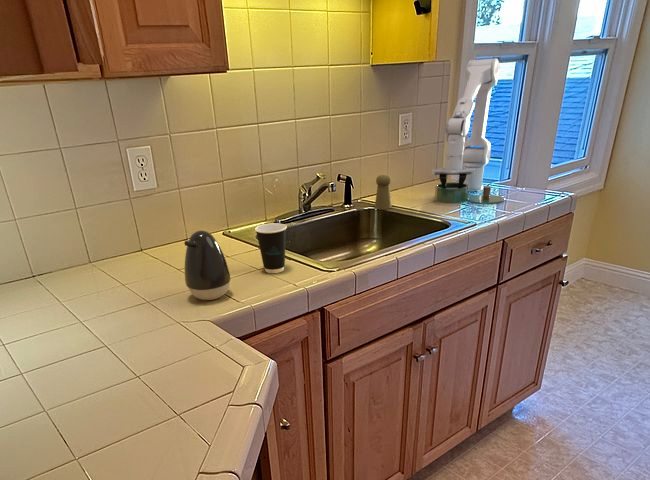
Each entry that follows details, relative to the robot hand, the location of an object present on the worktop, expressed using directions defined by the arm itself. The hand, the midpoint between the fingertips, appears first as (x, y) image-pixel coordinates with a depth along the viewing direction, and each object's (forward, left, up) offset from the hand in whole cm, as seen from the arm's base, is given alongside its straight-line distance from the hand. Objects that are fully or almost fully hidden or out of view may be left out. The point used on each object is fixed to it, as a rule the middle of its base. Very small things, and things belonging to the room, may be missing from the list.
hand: (451, 195), depth 180 cm
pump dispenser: (+97, -49, -2) cm, 109 cm away
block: (0, 0, -1) cm, 1 cm away
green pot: (0, 0, -2) cm, 2 cm away
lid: (0, +12, -1) cm, 12 cm away
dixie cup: (+78, -40, -2) cm, 88 cm away
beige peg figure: (+10, -23, -2) cm, 25 cm away
